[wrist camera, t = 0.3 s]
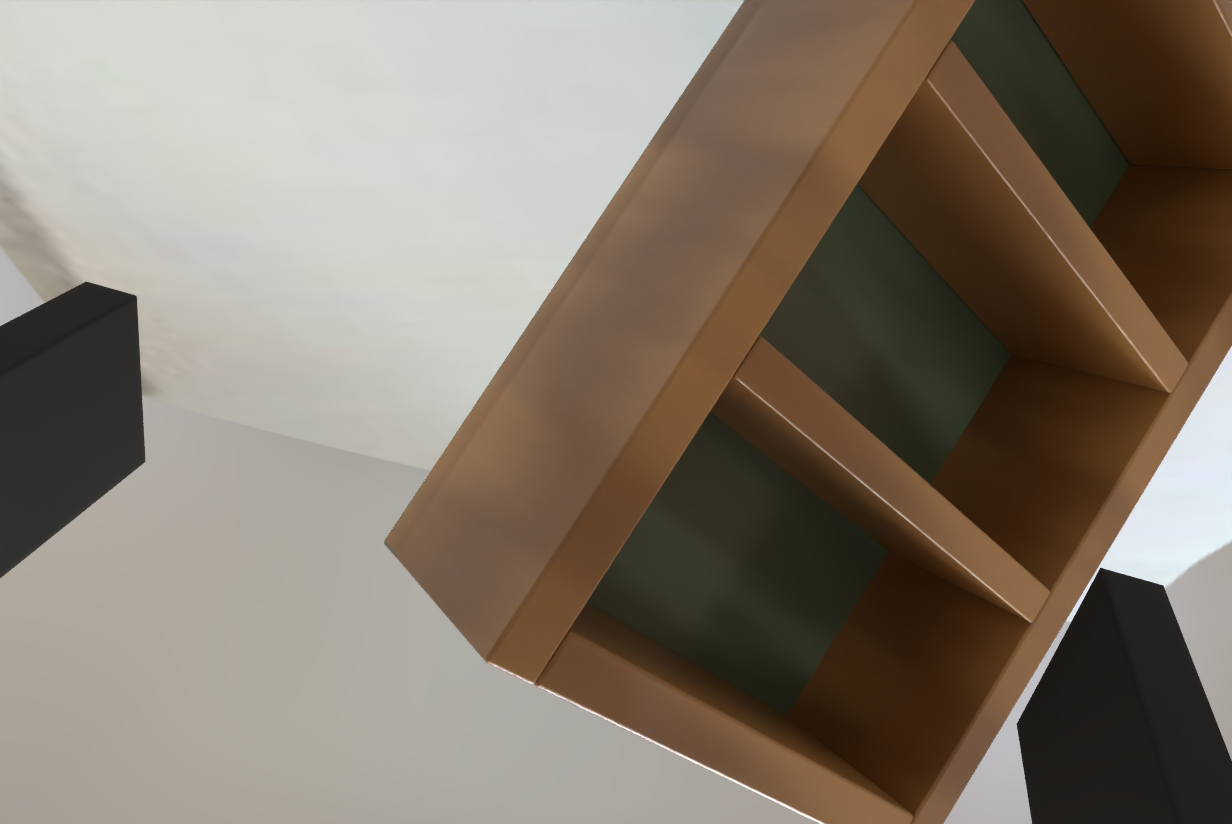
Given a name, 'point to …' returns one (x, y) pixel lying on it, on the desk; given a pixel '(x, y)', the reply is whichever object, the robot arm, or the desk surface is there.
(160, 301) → the desk surface
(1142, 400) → the shelf
